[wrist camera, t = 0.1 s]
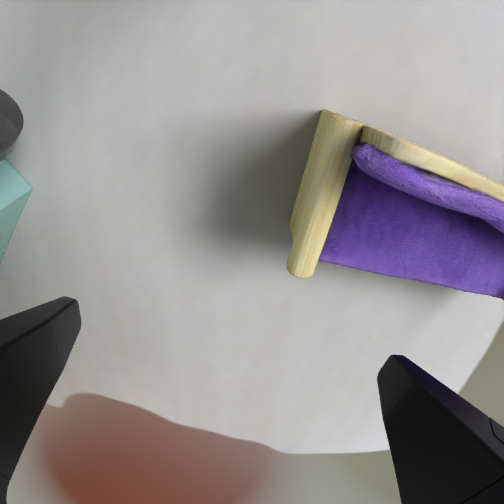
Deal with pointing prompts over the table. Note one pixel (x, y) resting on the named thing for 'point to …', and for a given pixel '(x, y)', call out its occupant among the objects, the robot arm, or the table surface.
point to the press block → (10, 201)
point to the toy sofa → (396, 211)
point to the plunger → (9, 124)
